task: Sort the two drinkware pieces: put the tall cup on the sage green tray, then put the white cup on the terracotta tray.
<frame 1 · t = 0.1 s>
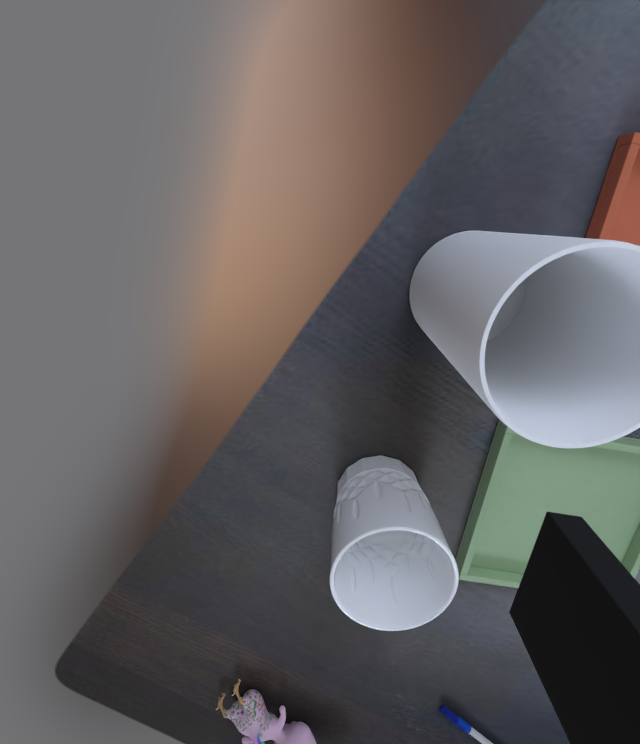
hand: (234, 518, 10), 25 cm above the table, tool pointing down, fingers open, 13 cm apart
cup: (466, 290, 33), on the table
rabbit figure: (287, 719, 46), on the table
sage tray: (559, 508, 38), on the table
white cup: (377, 489, 38), on the table
ballpoint pen: (475, 728, 46), on the table
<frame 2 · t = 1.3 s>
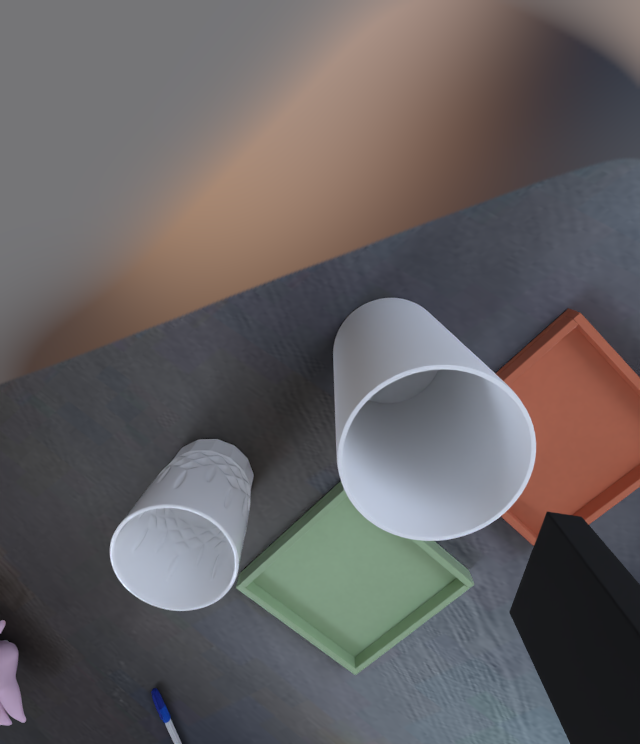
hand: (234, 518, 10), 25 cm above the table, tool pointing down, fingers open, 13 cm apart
cup: (388, 352, 35), on the table
rabbit figure: (1, 635, 44), on the table
sage tray: (353, 571, 41), on the table
white cup: (213, 473, 38), on the table
ballpoint pen: (172, 722, 47), on the table
terracotta tray: (551, 435, 36), on the table
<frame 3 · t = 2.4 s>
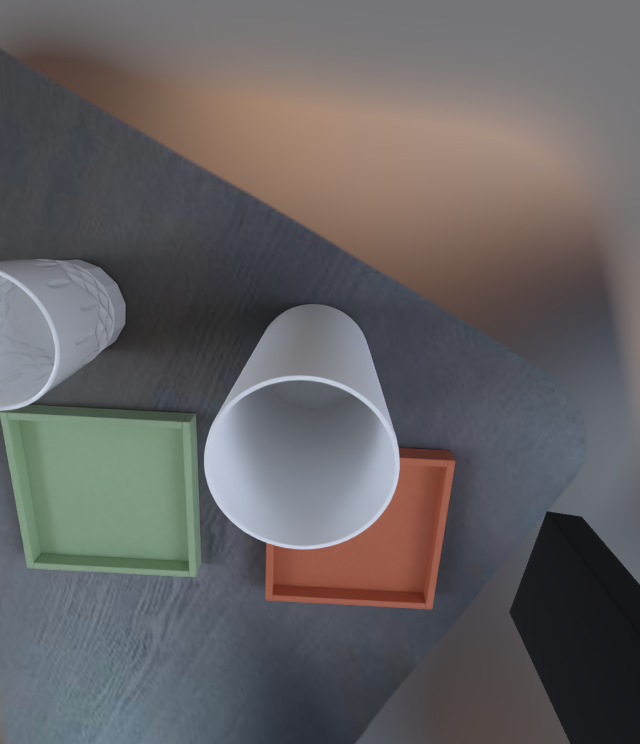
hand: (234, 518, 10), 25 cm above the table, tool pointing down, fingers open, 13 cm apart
cup: (313, 358, 35), on the table
sage tray: (113, 488, 38), on the table
white cup: (82, 306, 34), on the table
terracotta tray: (353, 521, 39), on the table
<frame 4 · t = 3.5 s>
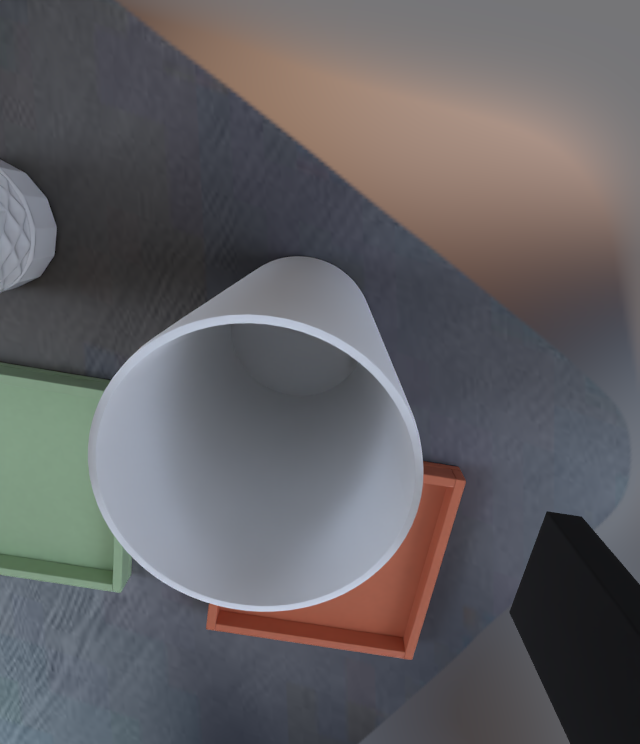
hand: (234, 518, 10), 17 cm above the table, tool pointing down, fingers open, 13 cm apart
cup: (299, 329, 27), on the table
sage tray: (25, 469, 30), on the table
terracotta tray: (327, 542, 31), on the table
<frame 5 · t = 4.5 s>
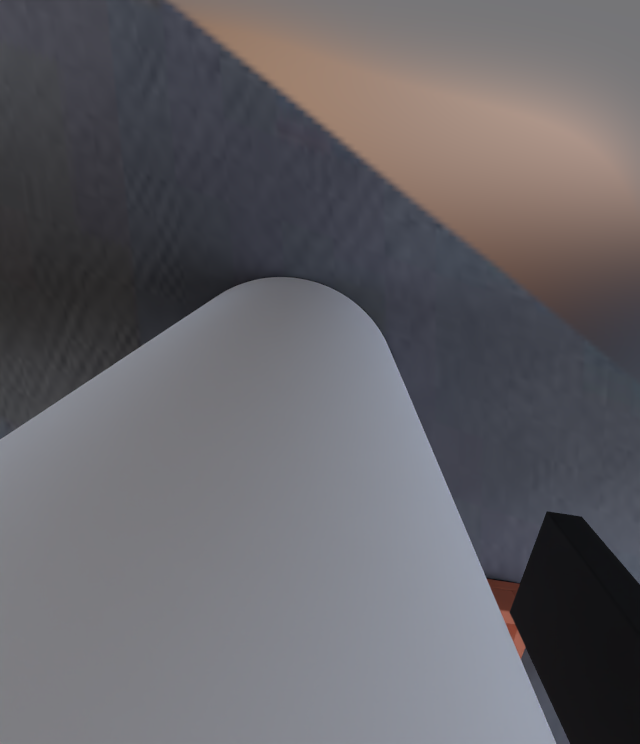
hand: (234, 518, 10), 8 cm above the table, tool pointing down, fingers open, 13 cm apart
cup: (284, 387, 17), on the table
terracotta tray: (327, 680, 22), on the table
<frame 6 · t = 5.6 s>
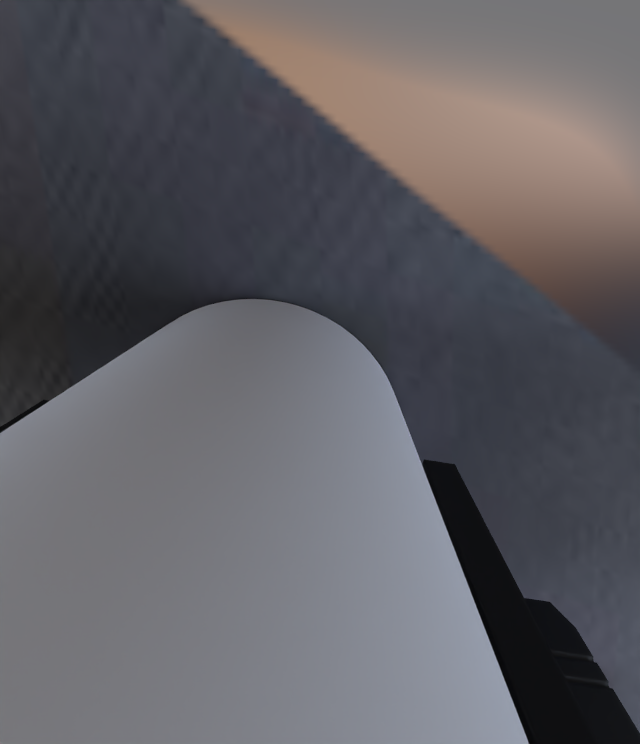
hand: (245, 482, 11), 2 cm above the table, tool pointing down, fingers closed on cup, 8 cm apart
cup: (259, 437, 14), on the table, touching gripper
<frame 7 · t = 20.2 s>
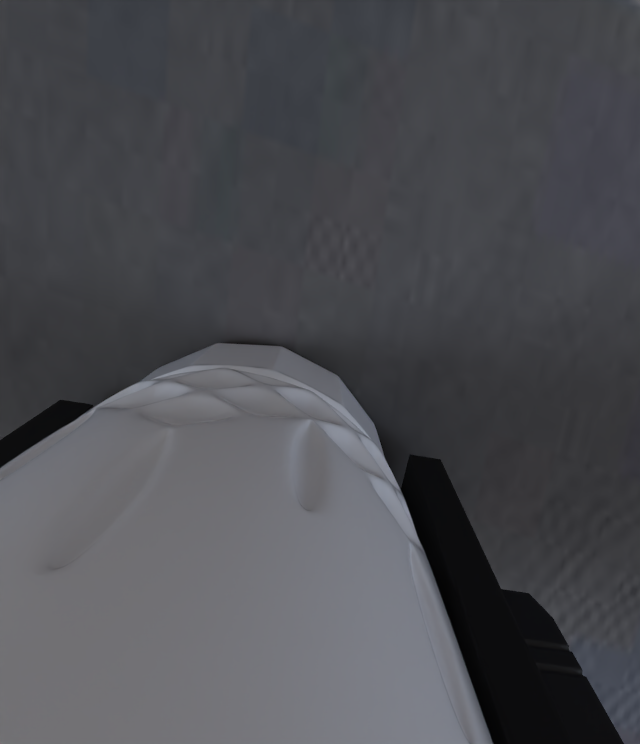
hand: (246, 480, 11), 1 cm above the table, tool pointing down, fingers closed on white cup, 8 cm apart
white cup: (251, 462, 12), on the table, touching gripper
when the fingers open (1 cm above the table, at t = 28.7 s): white cup stays where it is, resting on terracotta tray.
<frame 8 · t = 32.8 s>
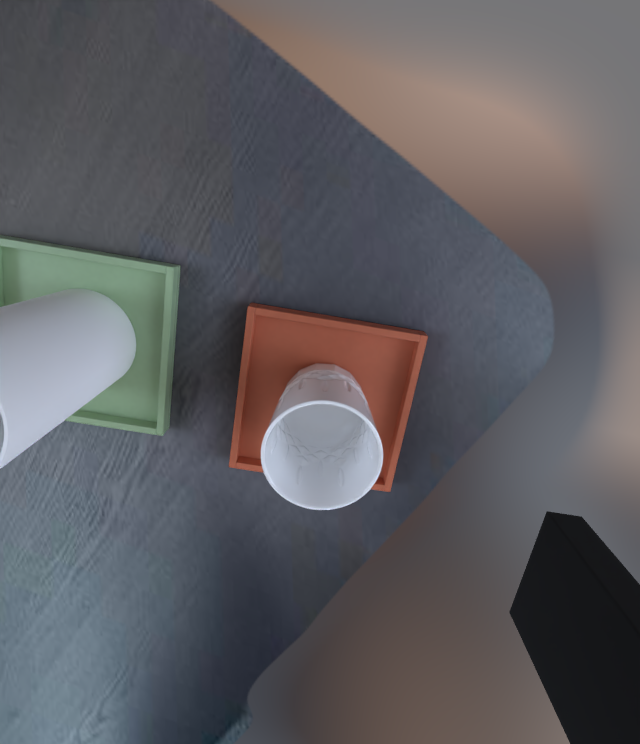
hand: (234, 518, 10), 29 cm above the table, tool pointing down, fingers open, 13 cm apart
cup: (87, 338, 38), resting on sage tray
sage tray: (89, 337, 38), on the table
white cup: (323, 399, 39), resting on terracotta tray
terracotta tray: (323, 397, 40), on the table
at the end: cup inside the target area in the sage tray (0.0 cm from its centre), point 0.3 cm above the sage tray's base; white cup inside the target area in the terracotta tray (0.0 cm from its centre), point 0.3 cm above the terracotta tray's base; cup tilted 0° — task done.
